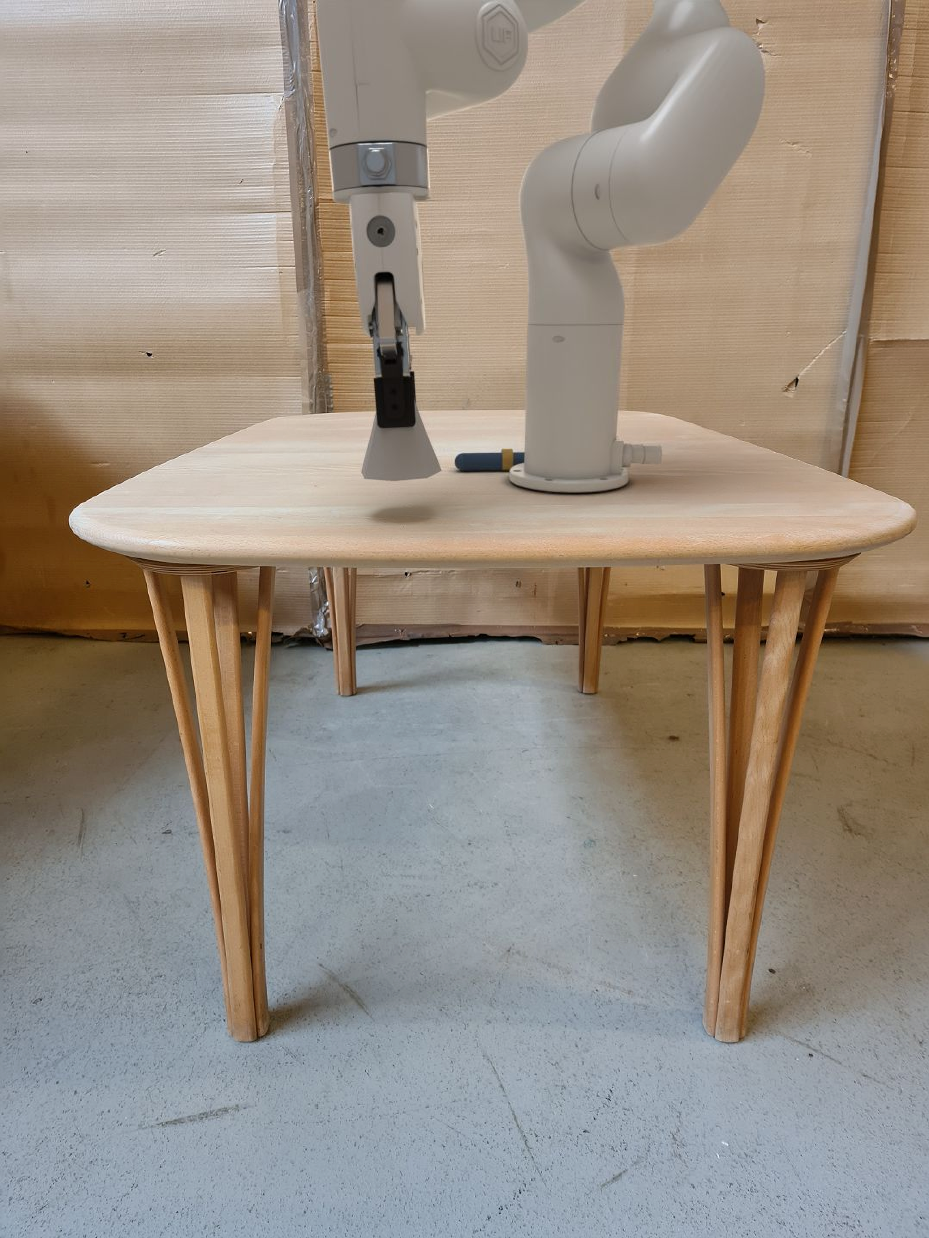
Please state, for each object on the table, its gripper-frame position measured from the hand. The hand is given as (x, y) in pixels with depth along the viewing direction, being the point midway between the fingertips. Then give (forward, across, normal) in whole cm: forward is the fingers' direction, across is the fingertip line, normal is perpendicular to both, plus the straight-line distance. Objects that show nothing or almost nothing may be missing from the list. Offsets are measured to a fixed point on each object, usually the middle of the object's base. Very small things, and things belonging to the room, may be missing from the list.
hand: (397, 420), depth 66 cm
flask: (+5, 0, 0) cm, 5 cm away
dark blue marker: (+9, +19, -11) cm, 24 cm away
